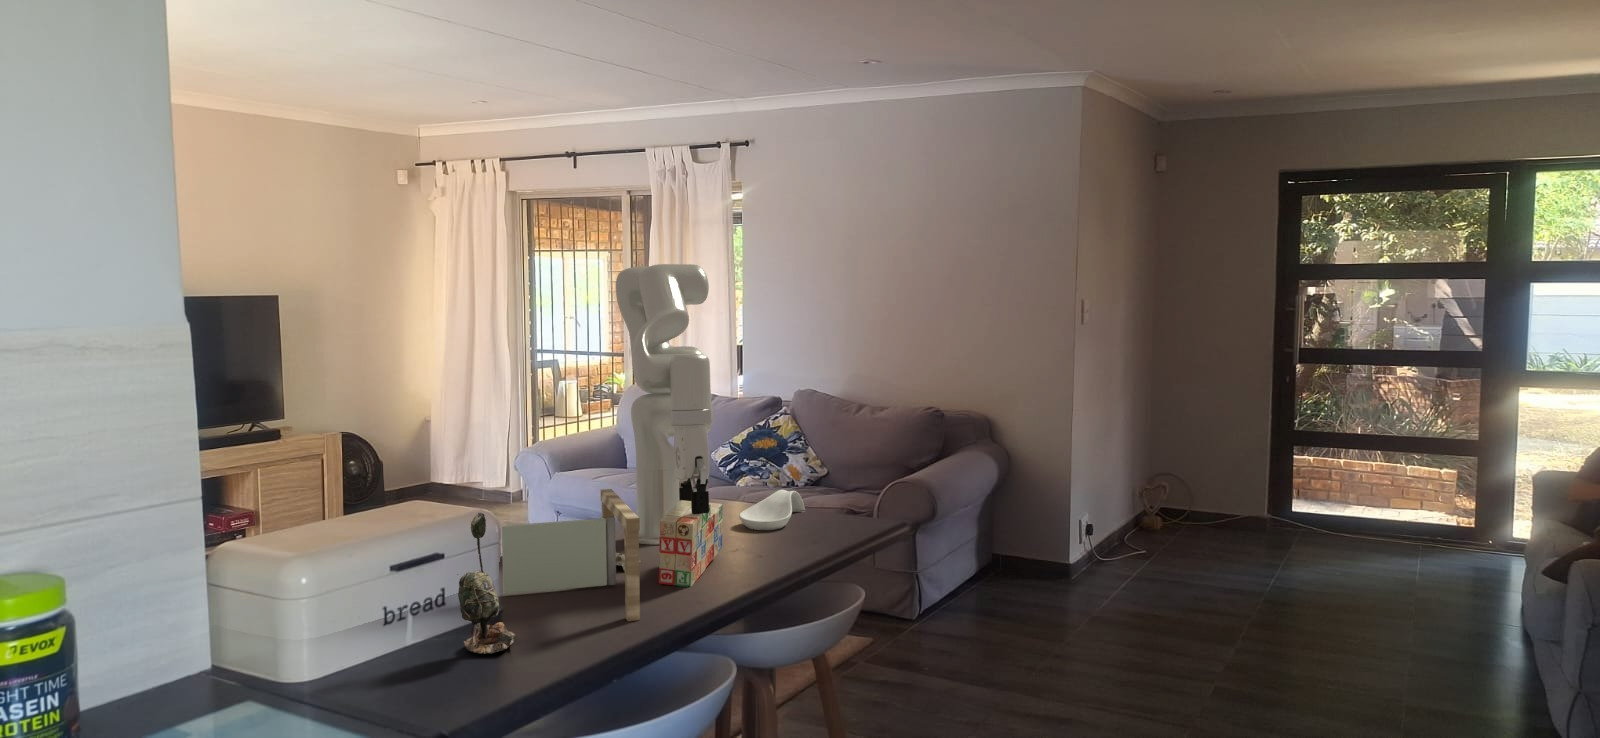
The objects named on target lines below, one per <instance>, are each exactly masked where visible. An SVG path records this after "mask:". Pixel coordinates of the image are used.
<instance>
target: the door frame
mask: <svg viewBox="0 0 1600 738" xmlns="http://www.w3.org/2000/svg"><path fill="white" fill-rule="evenodd" d="M599 491H600V502H601V518H605V519H606V518H615V520H617V521H618V522H619V524H620V525H621V526H622V527H623V529H624V530H623V532H624V533H623V535H624V536H623V537H624V538H623V539H624V540H623V541H624V545H623V546H624V554H625V572H624V591H625V593H624V596H625V597H624V598H625V599H624V600H625V601H624V602H625V620H626V621H627V622H634V621H636V622H637V621H641V601H640V600H641V599H640V598H641V597H640V596H641V594H640V562H639V560H640V543H639V530H640V518H639V517H638V516H637V513H635V512H634V510H633V509H631V508H630V506H628V505H627V503H626V502H625V501H624V500H623V499H622V498H621V497H620V496H619V495H618V494H617V493H616V492H615V491H614V490H613V489H612V488H605V489H604V488H602V489H600V490H599ZM606 569H607V536H606Z"/></svg>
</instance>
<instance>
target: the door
mask: <svg viewBox="0 0 1600 738" xmlns="http://www.w3.org/2000/svg"><path fill="white" fill-rule="evenodd" d="M606 536H607V569H606ZM616 538H617V537H616V517H614V518H606V519H605V518H602V517H601V518H592V519H591V518H590V519H575V520H562V521H561V520H560V521H549V522H548V521H545V522H534V523H533V522H532V523H531V522H530V523H521V524H504V525H501V546H502V547H501V548H502V549H501V552H502V553H501V554H502V559H501V560H502V588H503V589H502V593H503V595H513V594H524V593H534V592H535V593H536V592H546V591H557V590H567V589H568V590H569V589H579V588H591V587H603V586H607V585H609V586H614V585H617V565H616V553H617V551H616V545H617V544H616V542H617V541H616Z"/></svg>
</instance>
